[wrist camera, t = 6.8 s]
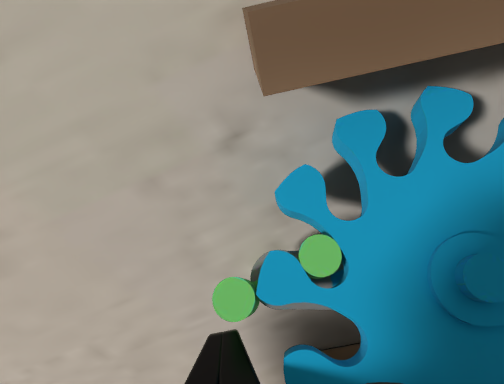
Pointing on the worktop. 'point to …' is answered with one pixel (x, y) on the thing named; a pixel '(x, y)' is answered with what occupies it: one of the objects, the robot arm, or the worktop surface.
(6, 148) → the worktop surface
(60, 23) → the worktop surface
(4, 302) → the worktop surface
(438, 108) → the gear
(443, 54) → the cradle
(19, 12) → the worktop surface
